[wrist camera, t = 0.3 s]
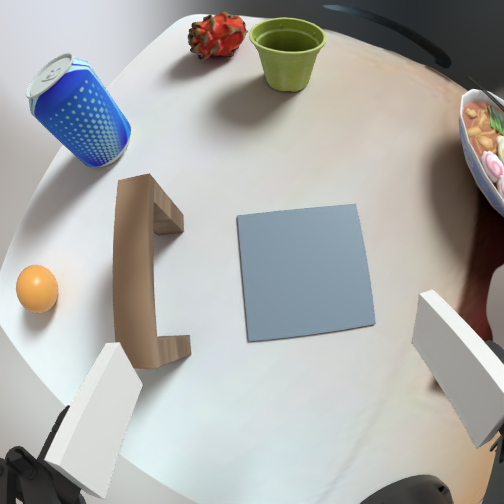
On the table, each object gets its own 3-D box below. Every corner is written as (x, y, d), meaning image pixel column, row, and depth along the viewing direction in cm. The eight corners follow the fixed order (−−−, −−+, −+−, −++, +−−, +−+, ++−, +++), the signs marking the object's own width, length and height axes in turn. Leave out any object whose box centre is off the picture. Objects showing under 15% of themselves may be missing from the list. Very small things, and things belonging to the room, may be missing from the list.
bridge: (183, 214, 31) (149, 173, 21) (191, 354, 27) (153, 369, 18) (158, 218, 31) (118, 180, 21) (164, 354, 27) (118, 367, 18)
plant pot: (290, 111, 33) (293, 62, 25) (240, 81, 35) (233, 35, 27) (332, 81, 34) (340, 36, 26) (283, 54, 36) (283, 11, 28)
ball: (67, 315, 29) (35, 311, 23) (38, 314, 29) (7, 311, 23) (67, 268, 30) (36, 257, 25) (38, 271, 31) (9, 262, 25)
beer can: (95, 183, 33) (20, 117, 17) (79, 148, 35) (19, 86, 19) (143, 143, 34) (86, 59, 18) (122, 114, 36) (73, 40, 20)
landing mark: (374, 323, 26) (375, 323, 26) (248, 341, 27) (248, 341, 27) (355, 204, 30) (355, 204, 29) (237, 216, 30) (237, 215, 30)
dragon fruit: (192, 77, 38) (240, 49, 42) (222, 63, 32) (272, 37, 35) (165, 38, 33) (218, 14, 36) (192, 17, 27) (249, -3, 30)
